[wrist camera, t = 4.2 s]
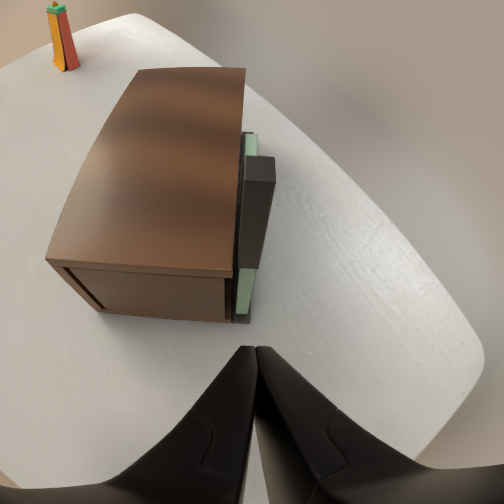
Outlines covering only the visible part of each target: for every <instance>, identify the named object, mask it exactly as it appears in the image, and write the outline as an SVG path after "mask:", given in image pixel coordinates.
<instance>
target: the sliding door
mask: <svg viewBox="0 0 504 504" xmlns="http://www.w3.org/2000/svg"><path fill="white" fill-rule="evenodd" d="M275 184H276V172H275V158H274V157H267V156H257V134H245V146H244V159H243V173H242V186H241V201H240V222H239V243H238V264H237V292H236V314H248V308H249V303H250V298H251V293H252V287H253V282H254V277H255V272H256V269H258V268H259V264H260V259H261V254H262V249H263V244H264V239H265V234H266V229H267V224H268V220H269V215H270V210H271V205H272V199H273V194H274V189H275Z"/></svg>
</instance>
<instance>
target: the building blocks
mask: <svg viewBox="0 0 504 504" xmlns="http://www.w3.org/2000/svg"><path fill="white" fill-rule="evenodd" d="M46 8H47V13H48V19H49V25H50V30H51V36H52V42H53V49H54V61H53V63H54V64H55V65H56V66H57V67H58V68H59V69H60V70H61V71H62V72H64V70H65V66H66V67H67V68H68V69H69V70H70V71H71V70H73V69H75V68H77V67H79V66H80V64H79V60H78V57H77V53H76V50H75V46H74V42H73V39H72V35H71V31H70V27H69V23H68V19H67V15H66V9H65V5H58V4H57V3H56V2H55V1H54V2H53V4H52V5H50V6H48V7H46Z"/></svg>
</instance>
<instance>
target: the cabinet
mask: <svg viewBox="0 0 504 504" xmlns="http://www.w3.org/2000/svg"><path fill="white" fill-rule="evenodd" d="M245 72H246V69H245V68H227V67H178V68H157V69H144V70H138V72H137V73H136V75H135V76H134V78H133V79H132V81H131V82H130V84H129V85H128V87H127V88H126V90H125V91H124V93H123V94H122V96H121V97H120V99H119V101H118V102H117V104H116V106H115V107H114V109H113V110H112V112H111V114H110V115H109V117H108V119H107V121H106V122H105V124H104V126H103V128H102V129H101V131H100V133H99V135H98V137H97V138H96V140H95V142H94V144H93V146H92V148H91V150H90V152H89V154H88V156H87V158H86V160H85V162H84V164H83V166H82V168H81V170H80V172H79V174H78V176H77V178H76V180H75V183H74V185H73V187H72V189H71V192H70V194H69V196H68V198H67V201H66V203H65V206H64V208H63V210H62V213H61V215H60V218H59V221H58V223H57V226H56V228H55V231H54V234H53V237H52V239H51V242H50V245H49V248H48V251H47V254H46V257H45V260H46V261H47V262H48V263H49V264H50V265H51V266H52V267H53V269H54V270H55V271H56V272H57V273H58V274H59V275H60V276H61V277H62V278H63V279H64V280H65V281H66V282H67V283H68V284H69V285H70V286H71V287H72V288H73V289H74V290H75V291H76V292H77V293H78V294H79V295H80V296H81V297H82V298H83V299H84V300H85V301H86V302H87V303H88V304H89V305H90V306H91V307H93V308H94V309H95V310H96V311H99V312H107V313H116V314H125V315H134V316H144V317H155V318H166V319H179V320H192V321H208V322H226V323H230V322H231V307H232V285H233V264H234V244H235V226H236V208H237V191H238V174H239V159H240V143H241V128H242V114H243V99H244V86H245ZM245 134H254V133H253V132H242V143H241V159H240V176H239V193H238V212H237V230H236V250H235V271H234V294H233V318H232V323H245V324H250V303H249V308H248V314H236V292H237V264H238V243H239V222H240V201H241V186H242V173H243V159H244V146H245Z"/></svg>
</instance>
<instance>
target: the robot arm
mask: <svg viewBox="0 0 504 504" xmlns="http://www.w3.org/2000/svg"><path fill="white" fill-rule="evenodd" d="M254 420H255V427H256V433H257V439H258V444H259V450H260V455H261V461H262V466H263V471H264V477H265V482H266V487H267V492H268V498H269V503H270V504H504V464H501V465H494V466H485V467H475V468H462V469H434V468H430V467H426V466H424V465H421V464H419V463H417V462H415V461H413V460H412V459H410V458H408V457H407V456H405V455H403V454H402V453H400V452H398V451H397V450H395V449H394V448H392V447H390V446H389V445H387V444H386V443H384V442H382V441H381V440H379V439H378V438H376V437H375V436H373V435H372V434H370V433H369V432H368V431H366V430H365V429H363V428H362V427H361V426H359V425H358V424H357V423H356V422H354V421H353V420H352V419H351V418H349V417H348V416H347V415H346V414H345V413H343V412H342V411H341V410H340V409H338V408H337V407H336V406H335V405H334V404H333V403H332V402H331V401H329V400H328V399H327V398H326V397H325V396H324V395H323V394H322V393H320V392H319V391H318V390H317V389H316V388H315V387H314V386H313V385H312V384H310V383H309V382H308V381H307V380H306V379H305V378H304V377H303V376H302V375H301V374H299V373H298V372H297V371H296V370H295V369H294V368H293V367H292V366H291V365H290V364H289V363H288V362H286V361H285V360H284V359H283V358H282V357H281V356H280V355H279V354H278V353H277V352H276V351H275V350H274V349H273V348H271V347H270V346H257V347H256V348H255V347H254V346H240V347H239V348H238V350H237V351H236V352H235V353H234V355H233V356H232V357H231V359H230V360H229V361H228V362H227V364H226V365H225V366H224V368H223V369H222V370H221V371H220V373H219V374H218V375H217V377H216V378H215V379H214V380H213V382H212V383H211V384H210V385H209V387H208V388H207V389H206V390H205V392H204V393H203V394H202V395H201V397H200V398H199V399H198V400H197V402H196V403H195V404H194V405H193V406H192V408H191V409H190V410H189V411H188V412H187V414H186V415H185V416H184V417H183V418H182V420H181V421H180V422H179V423H178V424H177V425H176V426H175V427H174V428H173V429H172V431H170V432H169V433H168V434H167V435H166V436H165V437H164V438H163V439H162V440H161V441H160V442H158V443H157V444H156V445H155V446H154V447H153V448H151V449H150V450H149V451H148V452H147V453H145V454H144V455H143V456H142V457H140V458H139V459H138V460H137V461H136V462H134V463H133V464H132V465H131V466H129V467H128V468H127V469H126V470H124V471H123V472H122V473H120V474H119V475H117V476H116V477H114V478H112V479H110V480H107V481H105V482H102V483H98V484H91V485H83V486H73V487H61V488H44V489H17V488H10V487H5V486H1V485H0V504H243V497H244V490H245V483H246V476H247V469H248V462H249V454H250V447H251V439H252V432H253V423H254Z"/></svg>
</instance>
